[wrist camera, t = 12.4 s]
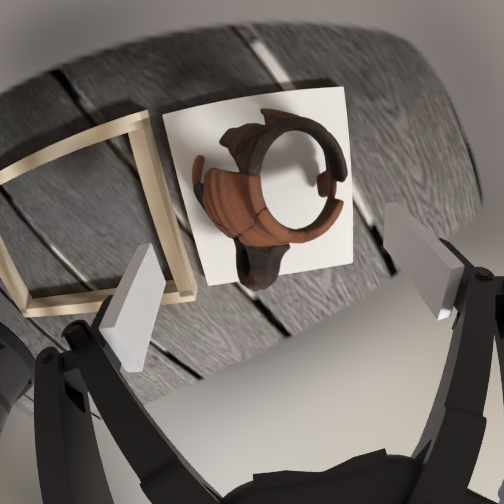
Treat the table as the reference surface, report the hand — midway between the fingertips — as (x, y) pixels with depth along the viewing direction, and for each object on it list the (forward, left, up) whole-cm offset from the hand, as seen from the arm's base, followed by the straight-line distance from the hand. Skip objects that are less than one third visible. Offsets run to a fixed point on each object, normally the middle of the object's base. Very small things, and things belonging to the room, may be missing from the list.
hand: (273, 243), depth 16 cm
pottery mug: (0, +1, -8) cm, 8 cm away
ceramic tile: (0, 0, -9) cm, 9 cm away
